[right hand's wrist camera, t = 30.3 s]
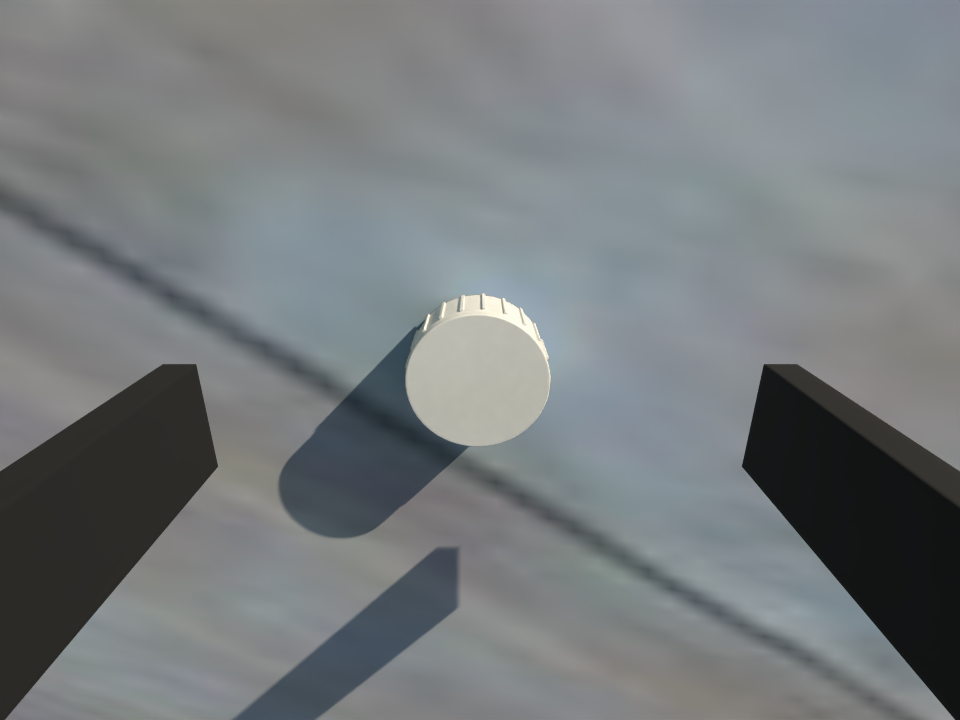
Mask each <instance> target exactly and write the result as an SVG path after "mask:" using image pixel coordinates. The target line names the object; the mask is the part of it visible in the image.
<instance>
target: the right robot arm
mask: <svg viewBox="0 0 960 720" xmlns="http://www.w3.org/2000/svg"><path fill="white" fill-rule="evenodd" d="M217 467H218V464H217V460H216V455H215V450H214V446H213V441H212V436H211V432H210V427H209V422H208V418H207V413H206V408H205V404H204V399H203V394H202V390H201V385H200V380H199V376H198V371H197V366H196V364H163V365H161V366H160V367H158V368H157V369H155V370H154V371H152V372H151V373H149V374H147V375H146V376H144V377H143V378H141V379H140V380H138V381H137V382H135V383H134V384H132V385H131V386H129V387H128V388H126V389H125V390H123V391H122V392H120V393H119V394H117V395H116V396H114V397H113V398H111V399H110V400H108V401H107V402H105V403H103V404H102V405H100V406H99V407H97V408H96V409H94V410H93V411H91V412H90V413H88V414H87V415H85V416H84V417H82V418H81V419H79V420H78V421H76V422H75V423H73V424H72V425H70V426H69V427H67V428H66V429H64V430H62V431H61V432H59V433H58V434H56V435H55V436H53V437H52V438H50V439H49V440H47V441H46V442H44V443H43V444H41V445H40V446H38V447H37V448H35V449H34V450H32V451H31V452H29V453H28V454H26V455H25V456H23V457H22V458H20V459H18V460H17V461H15V462H14V463H12V464H11V465H9V466H8V467H6V468H5V469H3V470H2V471H0V720H5V719H6V718H7V716H8V715H9V714H10V713H11V712H12V711H13V709H14V708H15V707H16V706H17V705H18V703H19V702H20V701H21V700H22V699H23V697H24V696H25V695H26V694H27V693H28V692H29V690H30V689H31V688H32V687H33V686H34V684H35V683H36V682H37V681H38V680H39V678H40V677H41V676H42V675H43V674H44V673H45V671H46V670H47V669H48V668H49V667H50V665H51V664H52V663H53V662H54V661H55V659H56V658H57V657H58V656H59V655H60V654H61V652H62V651H63V650H64V649H65V648H66V646H67V645H68V644H69V643H70V642H71V640H72V639H73V638H74V637H75V636H76V635H77V633H78V632H79V631H80V630H81V629H82V627H83V626H84V625H85V624H86V623H87V621H88V620H89V619H90V618H91V617H92V616H93V614H94V613H95V612H96V611H97V610H98V608H99V607H100V606H101V605H102V604H103V602H104V601H105V600H106V599H107V598H108V597H109V595H110V594H111V593H112V592H113V591H114V589H115V588H116V587H117V586H118V585H119V583H120V582H121V581H122V580H123V579H124V578H125V576H126V575H127V574H128V573H129V572H130V570H131V569H132V568H133V567H134V566H135V564H136V563H137V562H138V561H139V560H140V559H141V557H142V556H143V555H144V554H145V553H146V551H147V550H148V549H149V548H150V547H151V545H152V544H153V543H154V542H155V541H156V540H157V538H158V537H159V536H160V535H161V534H162V532H163V531H164V530H165V529H166V528H167V526H168V525H169V524H170V523H171V522H172V521H173V519H174V518H175V517H176V516H177V515H178V513H179V512H180V511H181V510H182V509H183V507H184V506H185V505H186V504H187V503H188V502H189V500H190V499H191V498H192V497H193V496H194V494H195V493H196V492H197V491H198V490H199V488H200V487H201V486H202V485H203V484H204V483H205V481H206V480H207V479H208V478H209V477H210V475H211V474H212V473H213V472H214V471H215V469H216V468H217ZM742 467H743V468H744V469H745V471H746V472H747V473H748V474H749V475H750V477H751V478H752V479H753V480H754V481H755V483H756V484H757V485H758V486H759V487H760V488H761V490H762V491H763V492H764V493H765V494H766V496H767V497H768V498H769V499H770V500H771V502H772V503H773V504H774V505H775V506H776V507H777V509H778V510H779V511H780V512H781V513H782V515H783V516H784V517H785V518H786V519H787V521H788V522H789V523H790V524H791V525H792V526H793V528H794V529H795V530H796V531H797V532H798V534H799V535H800V536H801V537H802V538H803V540H804V541H805V542H806V543H807V544H808V545H809V547H810V548H811V549H812V550H813V551H814V553H815V554H816V555H817V556H818V557H819V559H820V560H821V561H822V562H823V563H824V564H825V566H826V567H827V568H828V569H829V570H830V572H831V573H832V574H833V575H834V576H835V578H836V579H837V580H838V581H839V582H840V583H841V585H842V586H843V587H844V588H845V589H846V591H847V592H848V593H849V594H850V595H851V597H852V598H853V599H854V600H855V601H856V602H857V604H858V605H859V606H860V607H861V608H862V610H863V611H864V612H865V613H866V614H867V616H868V617H869V618H870V619H871V620H872V621H873V623H874V624H875V625H876V626H877V627H878V629H879V630H880V631H881V632H882V633H883V635H884V636H885V637H886V638H887V639H888V640H889V642H890V643H891V644H892V645H893V646H894V648H895V649H896V650H897V651H898V652H899V654H900V655H901V656H902V657H903V658H904V659H905V661H906V662H907V663H908V664H909V665H910V667H911V668H912V669H913V670H914V671H915V673H916V674H917V675H918V676H919V677H920V678H921V680H922V681H923V682H924V683H925V684H926V686H927V687H928V688H929V689H930V690H931V692H932V693H933V694H934V695H935V696H936V697H937V699H938V700H939V701H940V702H941V703H942V705H943V706H944V707H945V708H946V709H947V711H948V712H949V713H950V714H951V715H952V716H953V718H954V719H955V720H960V471H958V470H957V469H955V468H954V467H952V466H951V465H949V464H948V463H946V462H945V461H943V460H942V459H940V458H938V457H937V456H935V455H934V454H932V453H931V452H929V451H928V450H926V449H925V448H923V447H922V446H920V445H919V444H917V443H916V442H914V441H913V440H911V439H910V438H908V437H907V436H905V435H904V434H902V433H901V432H899V431H898V430H896V429H894V428H893V427H891V426H890V425H888V424H887V423H885V422H884V421H882V420H881V419H879V418H878V417H876V416H875V415H873V414H872V413H870V412H869V411H867V410H866V409H864V408H863V407H861V406H860V405H858V404H857V403H855V402H853V401H852V400H850V399H849V398H847V397H846V396H844V395H843V394H841V393H840V392H838V391H837V390H835V389H834V388H832V387H831V386H829V385H828V384H826V383H825V382H823V381H822V380H820V379H819V378H817V377H816V376H814V375H813V374H811V373H809V372H808V371H806V370H805V369H803V368H802V367H800V366H799V365H797V364H764V366H763V371H762V376H761V380H760V385H759V390H758V394H757V399H756V404H755V408H754V413H753V418H752V422H751V427H750V432H749V436H748V441H747V446H746V450H745V455H744V460H743V464H742Z"/></svg>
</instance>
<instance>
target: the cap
mask: <svg viewBox="0 0 960 720" xmlns="http://www.w3.org/2000/svg"><path fill="white" fill-rule="evenodd" d="M410 349H411V350H410V353H409V356H408V359H407V362H406V365H405V368H406V374H405V387H406V393H407V397H408V400H409V403H410V405H411V407H412V409H413V411H414V413H415V414H416V416H417V417H418V418H419V420H420V421H421V422H422V423H423V424H424V425H425V426H426V427H427V428H428V429H429V430H430V431H432V432H433V433H435V434H436V435H438V436H439V437H441V438H443V439H445V440H448V441H450V442H453V443H456V444H460V445H465V446H477V447H481V446H490V445H495V444H499V443H502V442H506V441H508V440H510V439H512V438H514V437H516V436H518V435H519V434H521V433H522V432H524V431H525V430H526V429H527V428H529V427H530V426H531V425H532V424H533V422H534V421H535V420H536V419H537V418H538V416H539V415H540V413H541V412H542V410H543V408H544V406H545V404H546V401H547V398H548V394H549V390H550V379H551V376H550V371H549V366H548V362H547V360H549V358H548V355H547V352H546V349H545V346H544V343H543V340H541V339H540V336H539V333H538V330H537V327H536V324H535V323H534V322H533V323H532V322H531V321H530V319H529V318H528V317H527V316H526V315H525V314H524V313H523V310H522V309H521V308H520V309H518V308H517V307H515V306H514V305H512V304H510V303H508V302H506V301H505V299H504V298H502V299H498V298H495V297H490V296H485V294H482V295H473V296H464V295H461V298H457V299H454V300H451V301H449V302H447V303H445V302H443V303H442V306H440V307H439V308H437V309H436V310H435V311H434V312H433V313H432V314H430V315H429V314H428V315H427V316H426V319H425V321H424V323H423V324H422V326H421V328H420V329H419V330H417V331H416V333H415V336H414V339H413V342H412V345H411V348H410Z"/></svg>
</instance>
